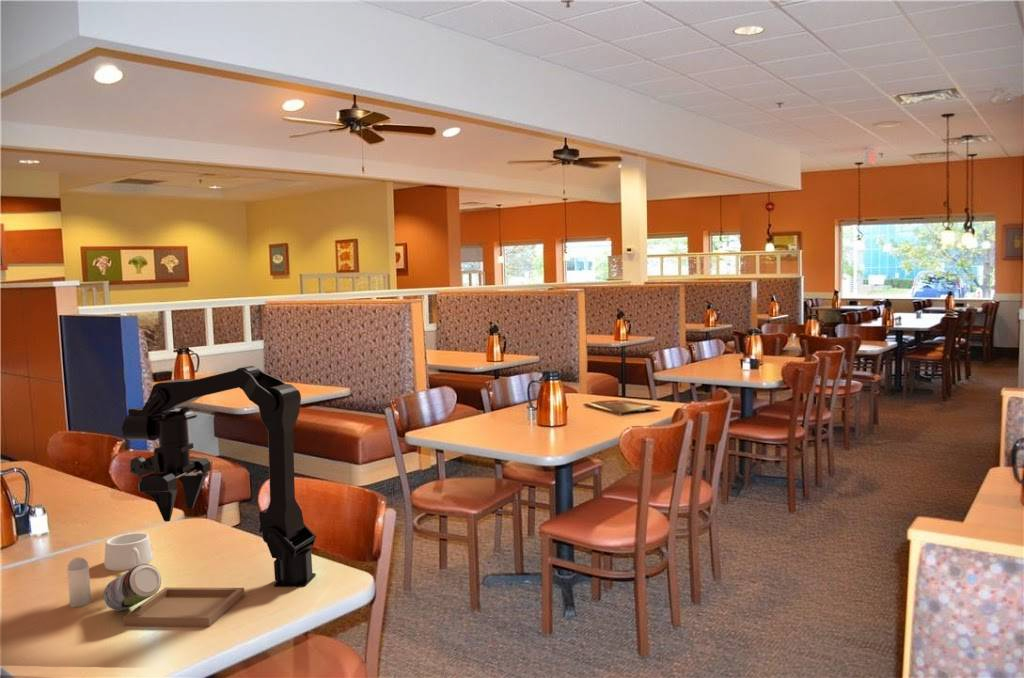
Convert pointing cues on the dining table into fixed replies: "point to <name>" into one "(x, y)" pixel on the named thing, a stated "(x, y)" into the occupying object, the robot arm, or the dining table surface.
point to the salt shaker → (79, 582)
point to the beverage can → (132, 587)
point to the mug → (127, 551)
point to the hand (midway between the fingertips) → (178, 514)
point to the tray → (184, 607)
